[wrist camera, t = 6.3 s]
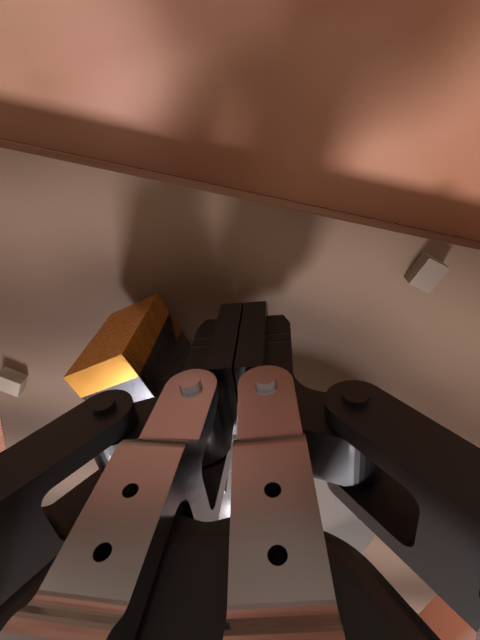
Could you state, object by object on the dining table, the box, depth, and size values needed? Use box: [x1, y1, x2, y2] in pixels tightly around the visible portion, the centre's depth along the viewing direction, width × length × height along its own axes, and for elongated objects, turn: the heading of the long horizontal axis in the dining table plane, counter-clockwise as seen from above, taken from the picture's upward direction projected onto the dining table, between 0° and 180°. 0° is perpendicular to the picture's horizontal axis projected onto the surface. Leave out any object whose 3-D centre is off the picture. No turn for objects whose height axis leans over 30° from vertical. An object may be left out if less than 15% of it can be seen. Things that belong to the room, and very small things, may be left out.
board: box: [0, 139, 480, 614], centre depth 19 cm, size 25×25×2 cm
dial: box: [63, 294, 375, 554], centre depth 15 cm, size 16×10×4 cm, turn 26°
